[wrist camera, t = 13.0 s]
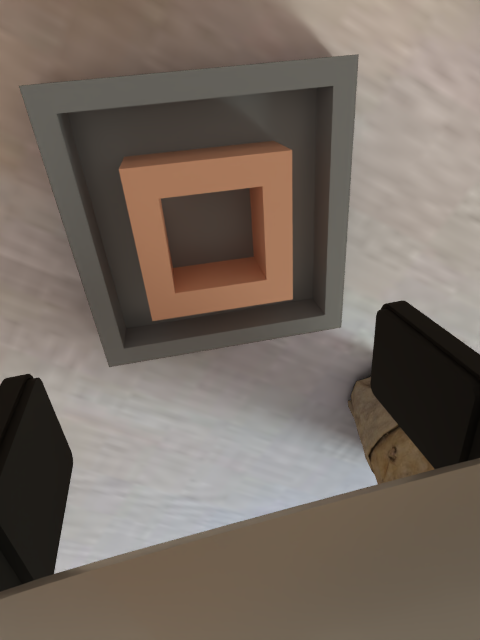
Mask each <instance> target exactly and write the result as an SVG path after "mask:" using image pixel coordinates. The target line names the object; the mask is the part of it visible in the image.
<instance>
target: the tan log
mask: <svg viewBox="0 0 480 640" xmlns="http://www.w3.org/2000/svg"><path fill="white" fill-rule="evenodd" d="M370 382H371V377H369V378H366V379H363V380H359V381H356V383H355V386H354V389H353V391H352V394H351V400H349V401H348V407H349V408H350V411H351V413H352V415H353V417H354V419H355V423H356V426H357V430H358V433H359V436H360V440H361V443H362V445H363V449H364V453H365V457H366V460H367V462H368V464H369V466H370V468H371V470H372V472H373V473H374V474H375V476H376V480H377V483H378V484H381V483H385V482H389V481H393V480H396V479H400V478H404V477H408V476H412V475H415V474H419V473H423V472H427V471H430V470H434V468H433V466H432V465H431V464H430V463H429V462H428V460H427V459H426V458H425V457H424V455H423V454H422V453H421V452H420V451H419V449H418V448H417V447H416V446H415V445H414V443H413V442H412V441H411V440H410V439H409V437H408V436H407V435H406V434H405V432H404V431H403V430H402V429H401V428H400V426H399V425H398V424H397V423H396V422H395V420H394V419H393V418H392V417H391V415H390V414H389V413H388V412H387V411H386V409H385V408H384V407H383V406H382V405H381V403H380V402H379V401H378V400H377V398H376V397H375V396H374V394H373V393H372V390H371V385H370Z"/></svg>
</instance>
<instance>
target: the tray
mask: <svg viewBox="0 0 480 640" xmlns="http://www.w3.org/2000/svg"><path fill="white" fill-rule="evenodd" d="M358 55H359V54H358ZM358 55H347V56H336V57H325V58H315V59H304V60H293V61H282V62H271V63H261V64H250V65H239V66H228V67H217V68H206V69H196V70H185V71H174V72H163V73H152V74H141V75H131V76H120V77H109V78H98V79H87V80H77V81H66V82H55V83H44V84H33V85H22V86H19V88H20V91H21V94H22V97H23V100H24V103H25V106H26V109H27V112H28V116H29V119H30V122H31V125H32V128H33V131H34V134H35V137H36V141H37V144H38V147H39V150H40V153H41V156H42V159H43V162H44V165H45V169H46V172H47V175H48V178H49V181H50V184H51V187H52V190H53V193H54V197H55V200H56V203H57V206H58V209H59V212H60V215H61V218H62V221H63V225H64V228H65V231H66V234H67V237H68V240H69V243H70V246H71V250H72V253H73V256H74V259H75V262H76V265H77V268H78V271H79V274H80V278H81V281H82V284H83V287H84V290H85V293H86V296H87V299H88V302H89V306H90V309H91V312H92V315H93V318H94V321H95V324H96V327H97V330H98V334H99V337H100V340H101V343H102V346H103V349H104V352H105V355H106V358H107V362H108V365H109V367H112V366H118V365H124V364H130V363H136V362H141V361H147V360H153V359H159V358H165V357H171V356H177V355H182V354H188V353H194V352H200V351H206V350H212V349H218V348H223V347H229V346H235V345H241V344H247V343H253V342H258V341H264V340H270V339H276V338H282V337H288V336H294V335H299V334H305V333H311V332H317V331H323V330H329V329H335V328H340V327H341V322H342V306H343V290H344V275H345V259H346V243H347V228H348V212H349V196H350V181H351V165H352V149H353V133H354V118H355V102H356V86H357V71H358ZM267 141H275V142H277V143H279V144H281V145H283V146H285V147H287V148H289V149H291V150H292V224H293V300H286V301H280V302H273V303H267V304H260V305H254V306H248V307H241V308H235V309H228V310H222V311H215V312H209V313H202V314H196V315H189V316H183V317H176V318H170V319H163V320H157V321H152V317H151V312H150V308H149V303H148V299H147V294H146V290H145V285H144V281H143V276H142V272H141V267H140V263H139V258H138V254H137V249H136V245H135V240H134V236H133V231H132V227H131V222H130V218H129V213H128V209H127V204H126V200H125V195H124V191H123V186H122V182H121V177H120V173H119V167H120V165H121V163H122V160H123V158H124V157H127V156H136V155H146V154H155V153H164V152H174V151H183V150H192V149H202V148H211V147H220V146H230V145H239V144H248V143H258V142H267ZM161 203H162V209H163V215H164V220H165V226H166V232H167V237H168V243H169V249H170V254H171V260H172V266H173V268H176V267H184V266H191V265H198V264H205V263H212V262H219V261H226V260H233V259H241V258H248V257H254V253H253V236H252V219H251V202H250V188H244V189H236V190H228V191H219V192H211V193H203V194H194V195H186V196H178V197H169V198H161Z"/></svg>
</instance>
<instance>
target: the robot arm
mask: <svg viewBox="0 0 480 640" xmlns="http://www.w3.org/2000/svg"><path fill="white" fill-rule="evenodd" d="M370 385H371V390H372V393H373V394H374V396H375V397H376V398H377V400H378V401H379V402H380V403H381V405H382V406H383V407H384V408H385V409H386V411H387V412H388V413H389V414H390V415H391V417H392V418H393V419H394V420H395V422H396V423H397V424H398V425H399V426H400V428H401V429H402V430H403V431H404V432H405V434H406V435H407V436H408V437H409V439H410V440H411V441H412V442H413V443H414V445H415V446H416V447H417V448H418V449H419V451H420V452H421V453H422V454H423V455H424V457H425V458H426V459H427V460H428V462H429V463H430V464H431V465H432V466H433V468H434V470H430V471H427V472H423V473H419V474H415V475H412V476H408V477H404V478H400V479H396V480H393V481H389V482H385V483H381V484H378V485H374V486H370V487H366V488H362V489H359V490H355V491H351V492H347V493H344V494H340V495H336V496H333V497H329V498H325V499H321V500H318V501H314V502H310V503H307V504H303V505H299V506H296V507H292V508H288V509H284V510H281V511H277V512H273V513H270V514H266V515H262V516H259V517H255V518H251V519H248V520H244V521H240V522H237V523H233V524H229V525H226V526H222V527H218V528H215V529H211V530H208V531H204V532H200V533H197V534H193V535H190V536H186V537H182V538H179V539H175V540H171V541H168V542H164V543H161V544H157V545H153V546H150V547H146V548H143V549H139V550H135V551H132V552H128V553H125V554H121V555H117V556H114V557H111V558H107V559H104V560H100V561H97V562H94V563H90V564H87V565H83V566H80V567H77V568H73V569H70V570H66V571H63V572H59V573H56V574H54V569H55V564H56V558H57V552H58V547H59V541H60V535H61V530H62V524H63V518H64V513H65V507H66V501H67V496H68V490H69V484H70V479H71V473H72V467H73V457H72V453H71V450H70V447H69V445H68V443H67V440H66V438H65V435H64V433H63V431H62V428H61V426H60V423H59V421H58V419H57V416H56V414H55V411H54V409H53V407H52V404H51V402H50V399H49V397H48V395H47V392H46V390H45V387H44V385H43V383H42V381H41V379H40V378H33V377H32V376H31V375H30V374H25V375H20V376H15V377H10V378H6V379H4V380H3V381H2V383H1V385H0V640H480V354H478V353H477V352H475V351H474V350H473V349H471V348H470V347H468V346H467V345H466V344H464V343H463V342H461V341H460V340H459V339H457V338H456V337H455V336H453V335H452V334H450V333H449V332H448V331H446V330H445V329H443V328H442V327H441V326H439V325H438V324H437V323H435V322H434V321H432V320H431V319H430V318H428V317H427V316H425V315H424V314H423V313H421V312H420V311H419V310H417V309H416V308H414V307H413V306H412V305H410V304H409V303H407V302H406V301H398V302H393V303H388V304H384V305H383V306H382V308H381V310H379V311H378V312H377V315H376V326H375V337H374V348H373V360H372V371H371V382H370Z"/></svg>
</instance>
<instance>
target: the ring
mask: <svg viewBox="0 0 480 640" xmlns="http://www.w3.org/2000/svg"><path fill="white" fill-rule="evenodd" d="M119 173H120V177H121V182H122V186H123V191H124V195H125V200H126V204H127V209H128V213H129V218H130V222H131V227H132V231H133V236H134V240H135V245H136V249H137V254H138V258H139V263H140V267H141V272H142V276H143V281H144V285H145V290H146V294H147V299H148V303H149V308H150V312H151V317H152V321H157V320H163V319H170V318H176V317H183V316H189V315H196V314H202V313H209V312H215V311H222V310H228V309H235V308H241V307H248V306H254V305H260V304H267V303H273V302H280V301H286V300H293V224H292V150H291V149H289V148H287V147H285V146H283V145H281V144H279V143H277V142H275V141H267V142H258V143H248V144H239V145H230V146H220V147H211V148H202V149H192V150H183V151H174V152H164V153H155V154H146V155H136V156H127V157H124V158H123V160H122V163H121V165H120V167H119ZM244 188H250V202H251V219H252V236H253V253H254V257H248V258H241V259H233V260H226V261H219V262H212V263H205V264H198V265H191V266H184V267H176V268H173V266H172V260H171V254H170V249H169V243H168V237H167V232H166V226H165V220H164V215H163V209H162V203H161V198H169V197H178V196H186V195H194V194H203V193H211V192H219V191H228V190H236V189H244Z"/></svg>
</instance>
